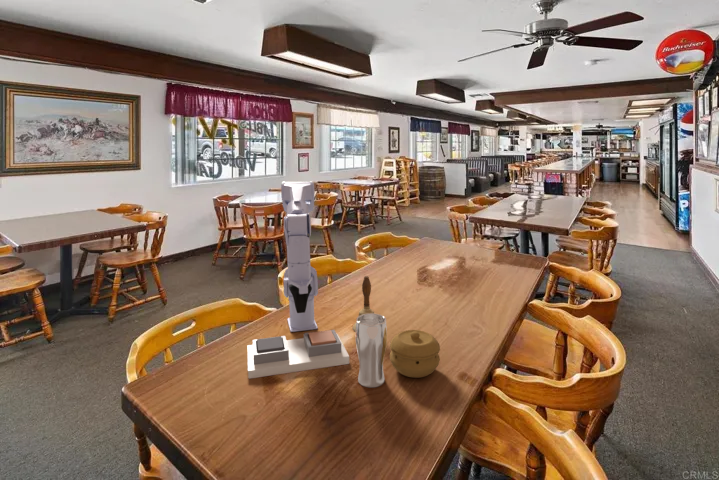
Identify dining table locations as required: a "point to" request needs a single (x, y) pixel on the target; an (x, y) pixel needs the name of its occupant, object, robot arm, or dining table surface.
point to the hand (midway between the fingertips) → (300, 311)
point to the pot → (414, 353)
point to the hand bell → (365, 298)
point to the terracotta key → (321, 337)
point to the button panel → (295, 357)
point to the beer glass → (371, 348)
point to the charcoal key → (269, 344)
